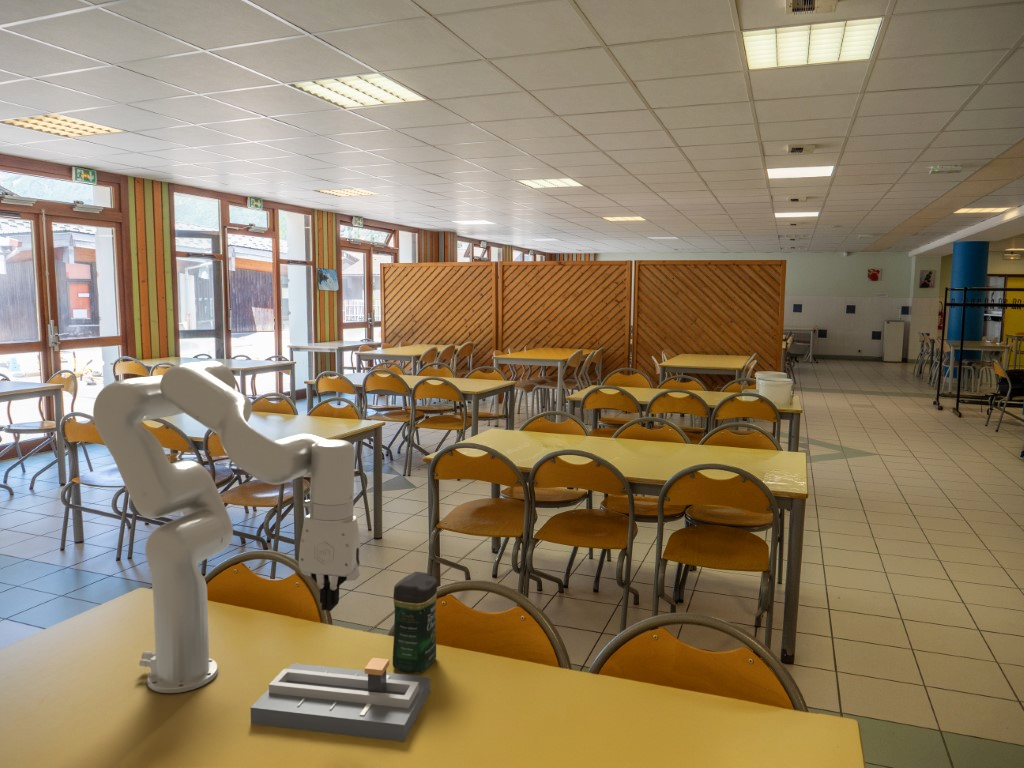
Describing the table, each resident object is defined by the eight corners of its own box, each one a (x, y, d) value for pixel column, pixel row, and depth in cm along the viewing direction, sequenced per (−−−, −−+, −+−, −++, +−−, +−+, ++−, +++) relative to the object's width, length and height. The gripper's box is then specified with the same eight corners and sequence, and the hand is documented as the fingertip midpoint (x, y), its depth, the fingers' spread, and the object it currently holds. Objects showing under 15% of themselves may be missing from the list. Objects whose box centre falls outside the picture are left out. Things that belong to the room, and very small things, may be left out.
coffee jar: (423, 678, 141) (423, 588, 140) (387, 671, 144) (387, 583, 142) (442, 656, 151) (442, 571, 149) (407, 650, 153) (408, 566, 151)
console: (250, 723, 125) (250, 698, 125) (292, 677, 141) (292, 655, 140) (404, 741, 121) (404, 716, 120) (430, 692, 136) (430, 669, 136)
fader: (364, 700, 128) (364, 668, 127) (372, 688, 132) (372, 657, 131) (381, 702, 127) (381, 670, 127) (389, 690, 131) (389, 659, 131)
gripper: (282, 511, 125) (280, 611, 127) (364, 519, 122) (360, 621, 125) (301, 499, 132) (299, 594, 134) (379, 507, 130) (375, 604, 132)
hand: (329, 607), depth 129 cm, fingers closed
